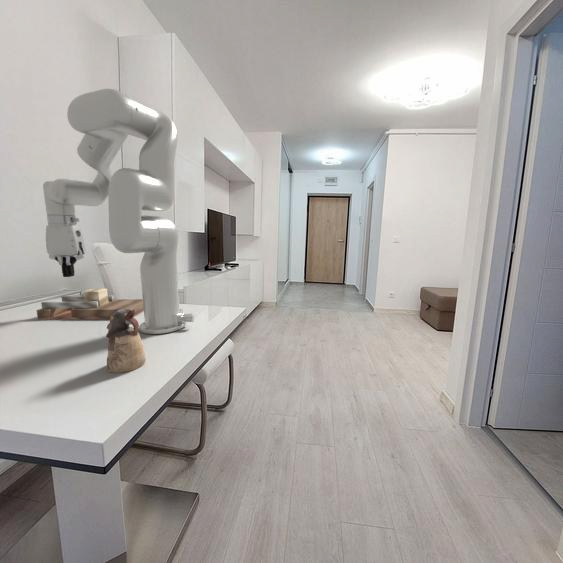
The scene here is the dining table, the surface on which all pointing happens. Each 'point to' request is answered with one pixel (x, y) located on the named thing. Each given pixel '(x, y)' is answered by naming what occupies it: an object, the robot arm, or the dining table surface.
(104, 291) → the block
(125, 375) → the dining table surface
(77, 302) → the trap deck
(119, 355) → the figurine
